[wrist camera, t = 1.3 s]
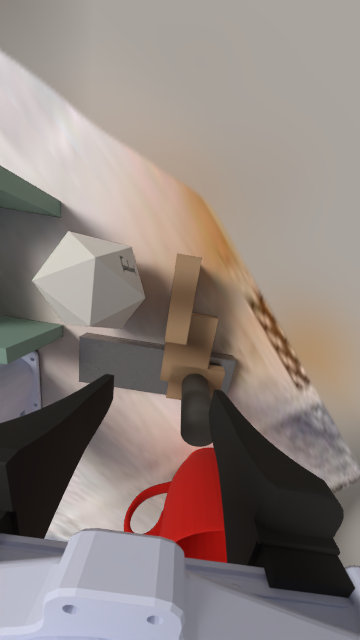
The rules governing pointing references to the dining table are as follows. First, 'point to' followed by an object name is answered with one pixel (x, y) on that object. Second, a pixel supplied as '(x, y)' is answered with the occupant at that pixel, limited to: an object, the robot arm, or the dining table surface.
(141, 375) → the rail
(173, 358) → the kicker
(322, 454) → the dining table surface
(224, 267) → the dining table surface
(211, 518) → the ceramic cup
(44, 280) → the die
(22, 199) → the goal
